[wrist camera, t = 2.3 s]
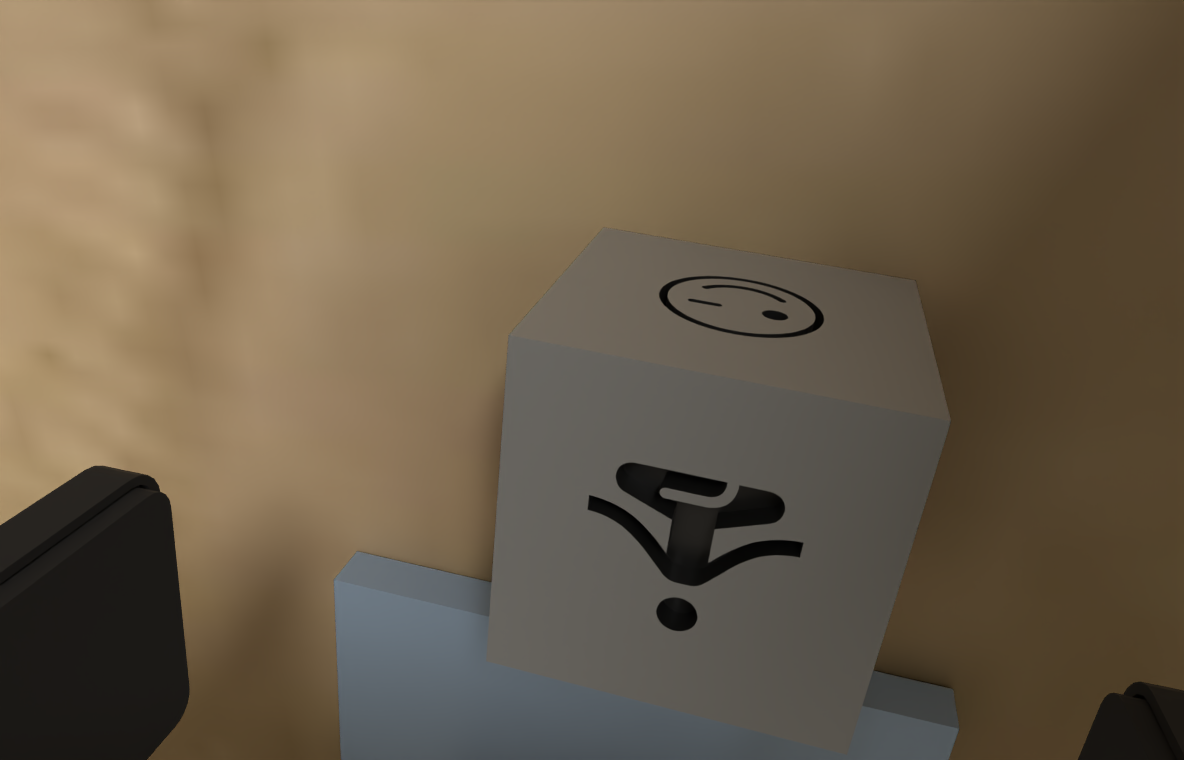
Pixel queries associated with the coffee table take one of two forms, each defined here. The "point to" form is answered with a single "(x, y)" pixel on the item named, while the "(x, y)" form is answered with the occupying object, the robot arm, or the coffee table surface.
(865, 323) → the grey symbol cube
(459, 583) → the blue board
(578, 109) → the coffee table surface
